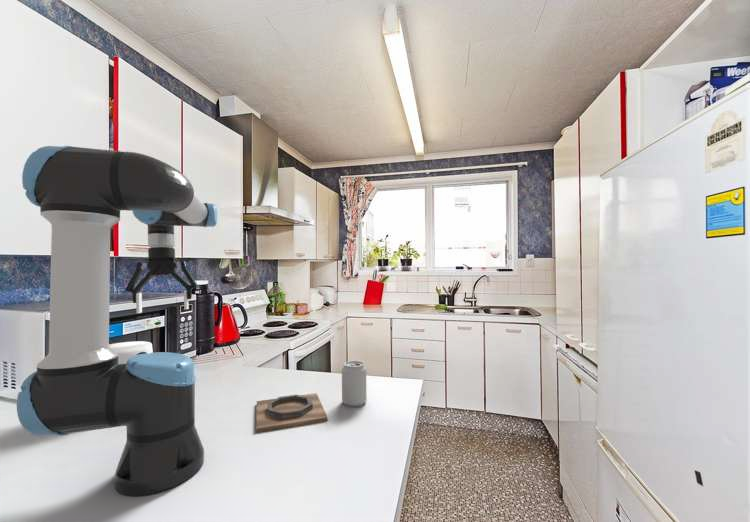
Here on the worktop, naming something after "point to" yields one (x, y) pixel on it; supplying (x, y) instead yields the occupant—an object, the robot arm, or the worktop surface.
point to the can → (354, 383)
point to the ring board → (289, 412)
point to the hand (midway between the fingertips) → (163, 311)
